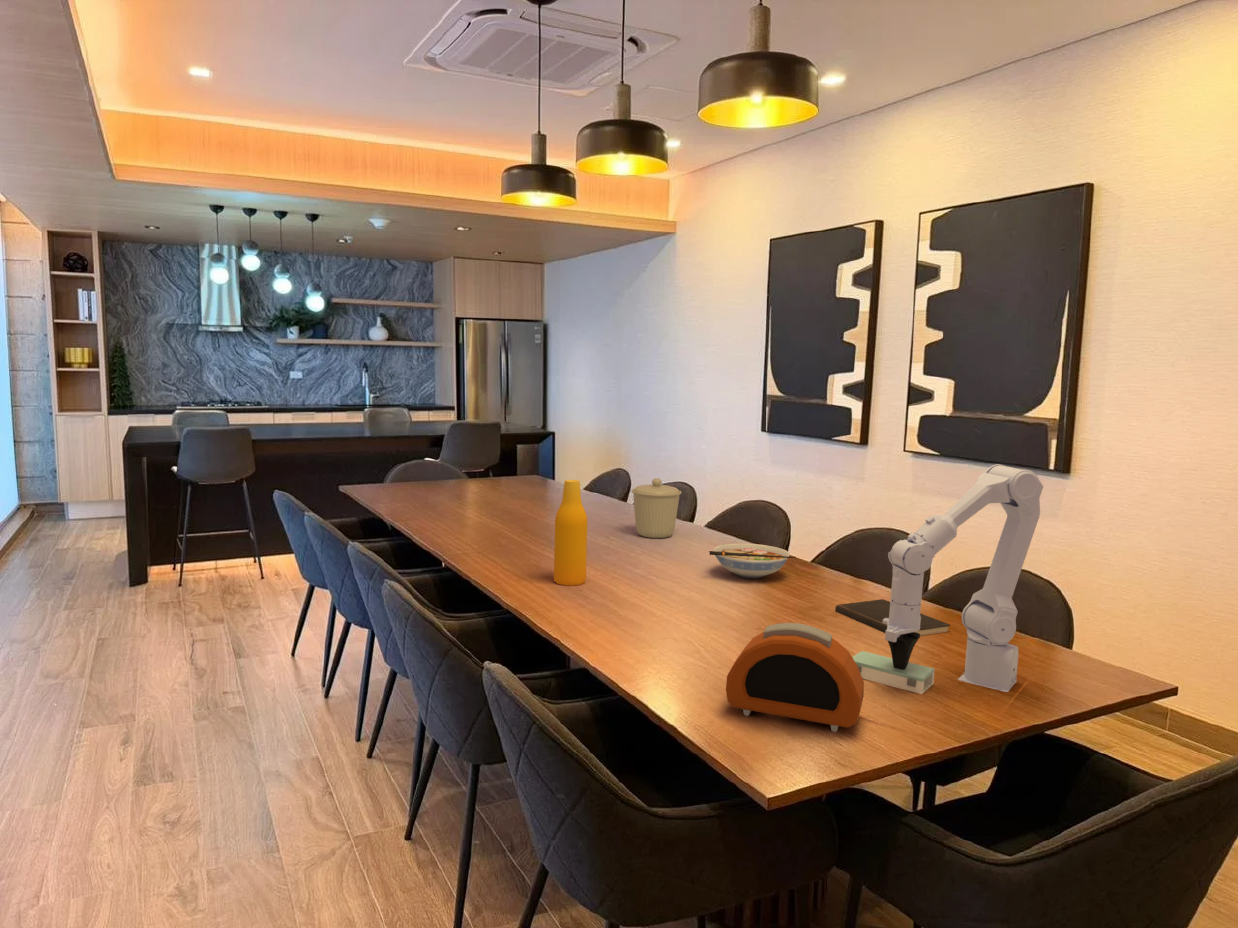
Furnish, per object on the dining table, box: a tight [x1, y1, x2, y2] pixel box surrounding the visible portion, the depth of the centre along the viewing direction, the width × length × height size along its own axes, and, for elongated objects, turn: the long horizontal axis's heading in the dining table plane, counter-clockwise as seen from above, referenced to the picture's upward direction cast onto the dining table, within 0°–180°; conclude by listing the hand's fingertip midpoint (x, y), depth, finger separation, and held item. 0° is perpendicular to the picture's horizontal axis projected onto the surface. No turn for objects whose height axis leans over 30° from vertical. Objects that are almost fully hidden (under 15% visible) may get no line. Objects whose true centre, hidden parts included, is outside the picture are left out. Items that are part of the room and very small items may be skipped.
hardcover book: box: [834, 598, 951, 637], centre depth 207 cm, size 16×23×2 cm
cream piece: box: [857, 665, 935, 695], centre depth 166 cm, size 15×8×3 cm, turn 52°
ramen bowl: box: [708, 542, 797, 579], centre depth 247 cm, size 25×23×8 cm
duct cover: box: [852, 650, 935, 682], centre depth 166 cm, size 15×7×1 cm, turn 52°
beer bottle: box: [553, 479, 588, 587], centre depth 233 cm, size 9×9×29 cm
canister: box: [631, 477, 682, 539], centre depth 300 cm, size 18×18×21 cm
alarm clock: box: [725, 622, 865, 733], centre depth 148 cm, size 23×9×17 cm, turn 69°
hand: (899, 668), depth 164 cm, fingers closed, pressing on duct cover
